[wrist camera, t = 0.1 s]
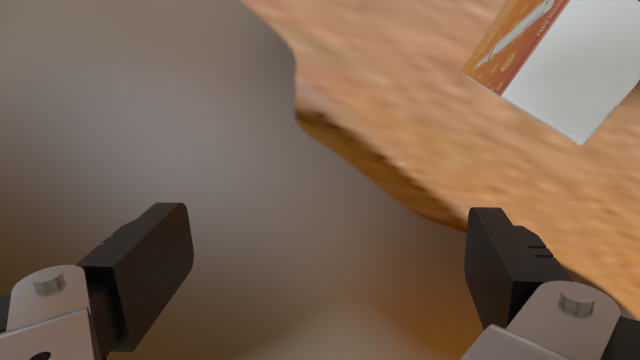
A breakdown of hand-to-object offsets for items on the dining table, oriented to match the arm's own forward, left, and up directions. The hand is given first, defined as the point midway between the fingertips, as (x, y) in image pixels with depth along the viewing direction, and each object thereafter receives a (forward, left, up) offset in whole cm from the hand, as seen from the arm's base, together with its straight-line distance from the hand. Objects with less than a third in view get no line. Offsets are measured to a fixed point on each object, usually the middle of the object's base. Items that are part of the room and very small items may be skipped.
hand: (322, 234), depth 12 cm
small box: (-3, +14, -30) cm, 33 cm away
